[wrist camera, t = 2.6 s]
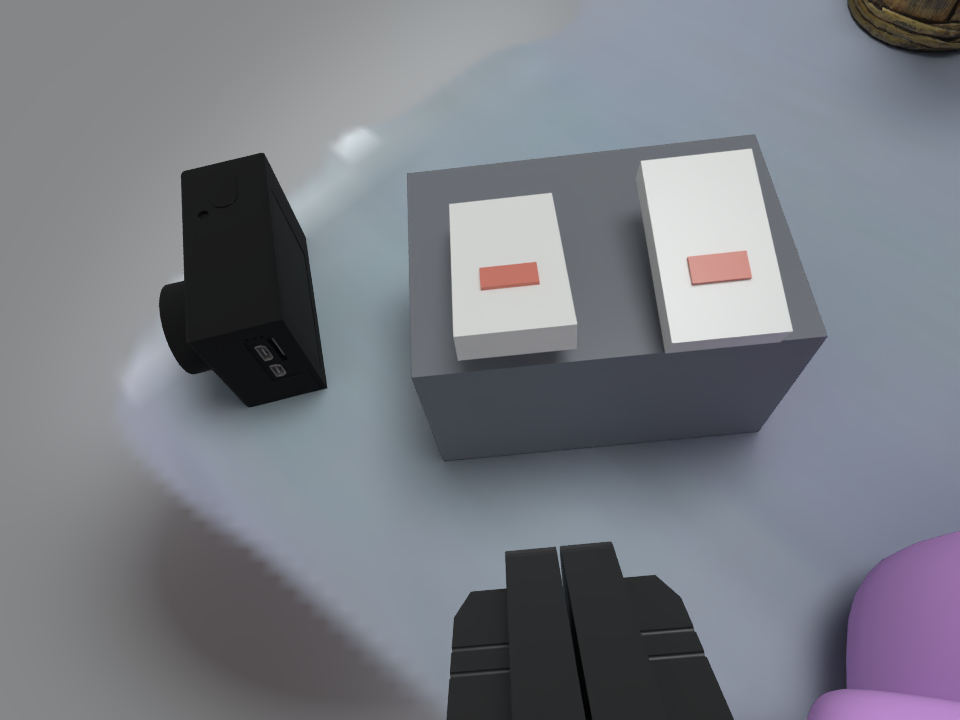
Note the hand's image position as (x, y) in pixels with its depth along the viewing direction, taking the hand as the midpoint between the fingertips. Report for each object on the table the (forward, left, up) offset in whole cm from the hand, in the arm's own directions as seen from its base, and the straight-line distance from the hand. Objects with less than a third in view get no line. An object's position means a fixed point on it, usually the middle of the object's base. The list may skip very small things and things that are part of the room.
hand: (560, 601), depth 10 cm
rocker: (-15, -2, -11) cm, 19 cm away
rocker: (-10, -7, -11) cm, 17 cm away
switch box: (-14, -6, -21) cm, 26 cm away
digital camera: (-8, -22, -21) cm, 32 cm away
